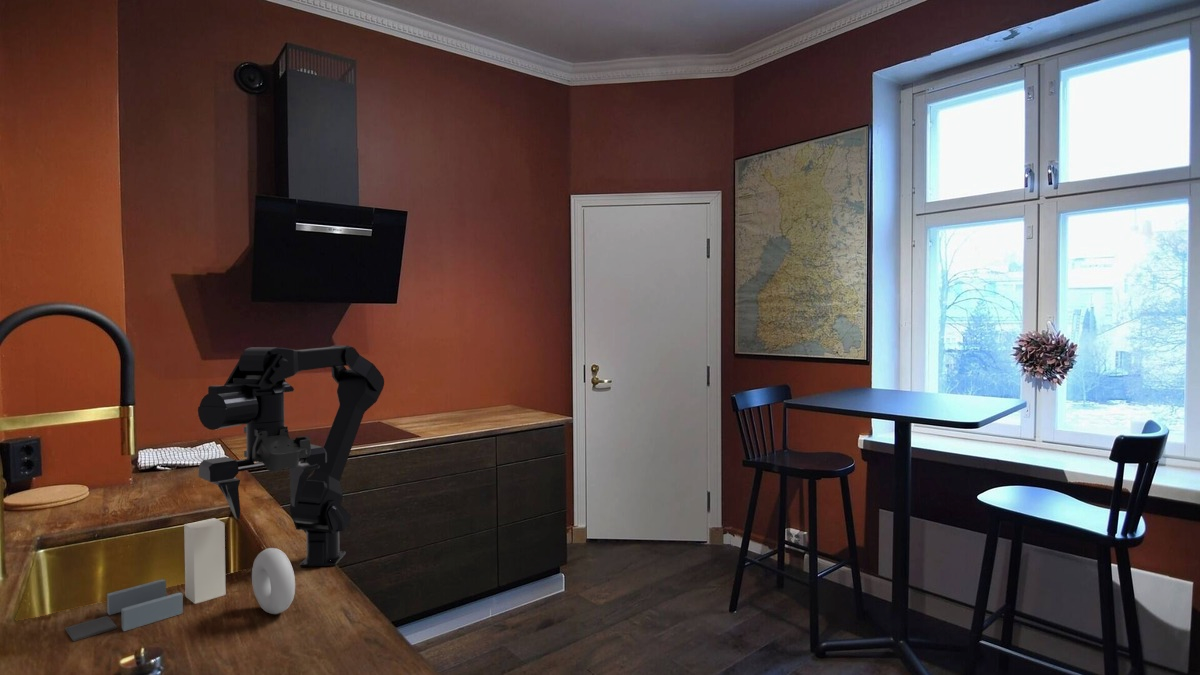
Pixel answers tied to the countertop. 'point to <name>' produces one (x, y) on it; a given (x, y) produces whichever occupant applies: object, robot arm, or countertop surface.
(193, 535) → the block
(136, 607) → the channel
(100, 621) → the mat
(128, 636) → the countertop surface
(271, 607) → the donut
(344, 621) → the countertop surface
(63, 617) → the countertop surface
